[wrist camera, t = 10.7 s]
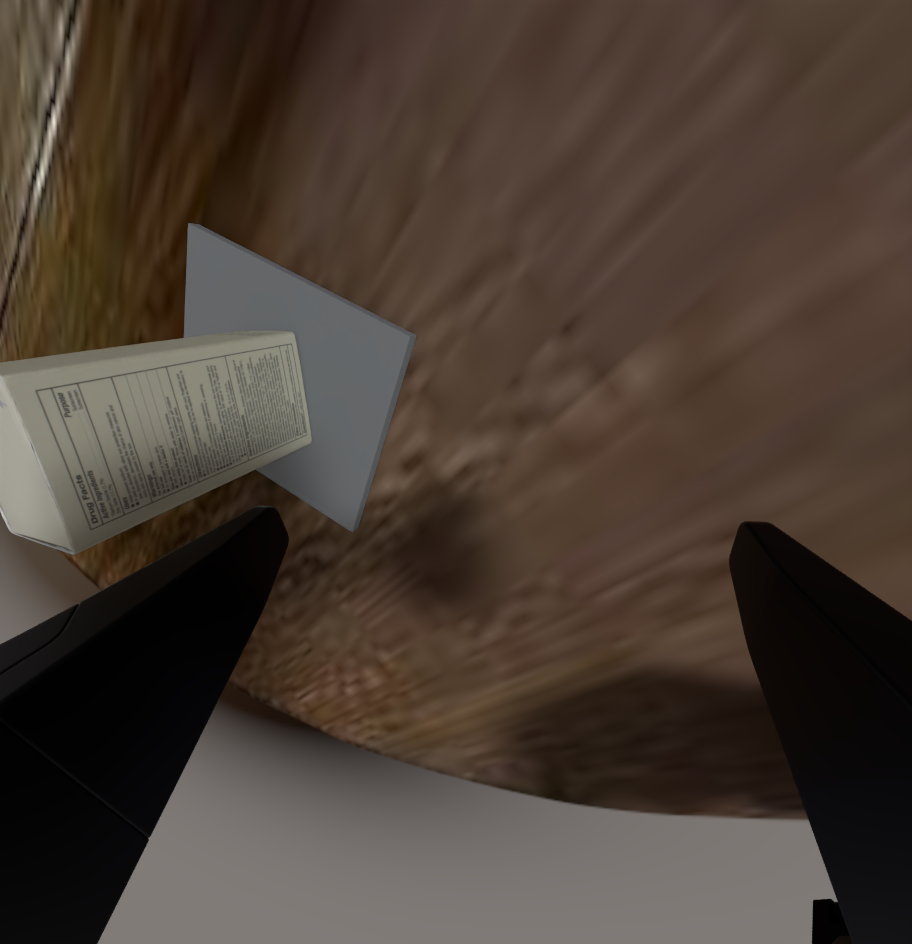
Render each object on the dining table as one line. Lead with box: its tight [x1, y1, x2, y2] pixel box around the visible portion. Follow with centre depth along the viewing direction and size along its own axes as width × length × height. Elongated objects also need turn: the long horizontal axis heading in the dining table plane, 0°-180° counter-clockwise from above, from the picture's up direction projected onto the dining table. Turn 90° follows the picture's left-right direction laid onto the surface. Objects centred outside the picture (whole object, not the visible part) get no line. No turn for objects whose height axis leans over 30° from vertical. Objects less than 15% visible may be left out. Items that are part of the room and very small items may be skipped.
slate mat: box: [184, 223, 417, 532], centre depth 25 cm, size 14×12×1 cm
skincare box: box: [0, 331, 312, 555], centre depth 20 cm, size 6×4×12 cm
